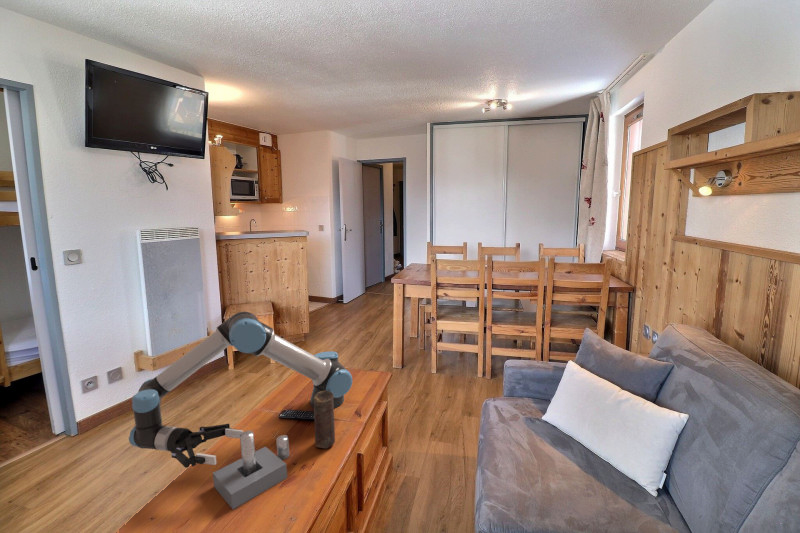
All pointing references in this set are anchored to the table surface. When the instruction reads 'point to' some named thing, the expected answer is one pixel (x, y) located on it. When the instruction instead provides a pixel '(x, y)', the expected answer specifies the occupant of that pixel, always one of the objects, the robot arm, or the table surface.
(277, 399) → the table surface
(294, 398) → the table surface
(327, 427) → the brown textured cylinder
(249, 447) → the long pin
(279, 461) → the guide block
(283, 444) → the short pin
